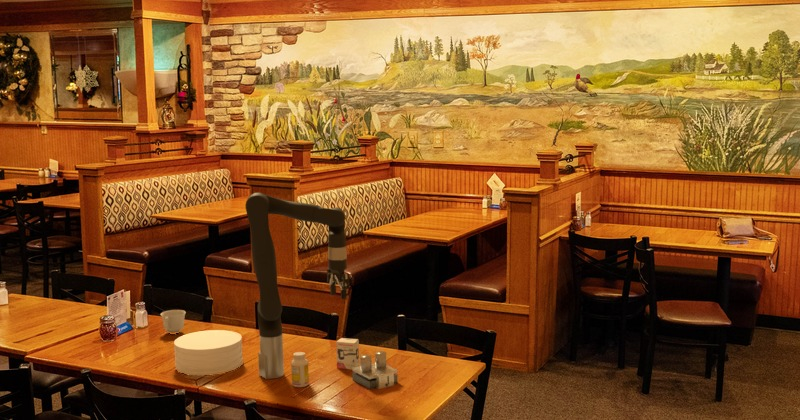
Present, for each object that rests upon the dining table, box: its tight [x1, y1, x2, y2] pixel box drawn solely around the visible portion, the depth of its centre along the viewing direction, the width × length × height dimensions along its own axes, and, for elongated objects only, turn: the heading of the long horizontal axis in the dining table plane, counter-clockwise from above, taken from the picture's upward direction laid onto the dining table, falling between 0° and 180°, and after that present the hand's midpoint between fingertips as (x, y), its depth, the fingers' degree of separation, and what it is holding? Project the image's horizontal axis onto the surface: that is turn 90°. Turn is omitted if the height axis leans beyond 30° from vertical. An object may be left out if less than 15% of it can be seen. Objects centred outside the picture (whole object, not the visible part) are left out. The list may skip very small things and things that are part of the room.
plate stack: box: [173, 329, 244, 376], centre depth 358 cm, size 28×28×12 cm
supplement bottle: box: [290, 351, 310, 388], centre depth 332 cm, size 7×7×13 cm
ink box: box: [336, 337, 360, 370], centre depth 352 cm, size 8×5×12 cm, turn 73°
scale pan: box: [352, 362, 398, 379], centre depth 335 cm, size 13×13×2 cm
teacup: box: [160, 309, 187, 333], centre depth 405 cm, size 12×15×10 cm
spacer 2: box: [374, 350, 387, 369], centre depth 337 cm, size 4×4×6 cm
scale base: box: [351, 371, 399, 390], centre depth 335 cm, size 13×15×5 cm
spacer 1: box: [359, 354, 373, 373], centre depth 333 cm, size 4×4×6 cm
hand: (338, 296), depth 342 cm, fingers open, 8 cm apart
